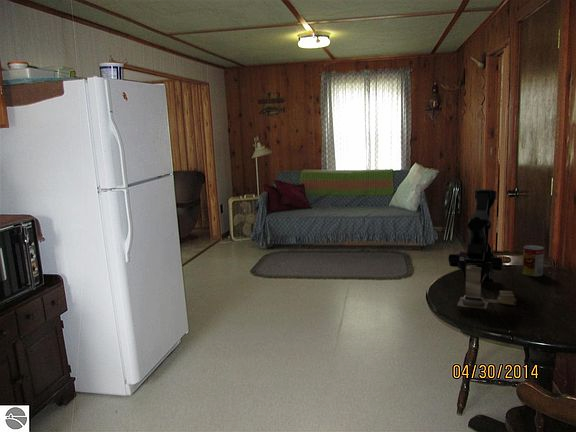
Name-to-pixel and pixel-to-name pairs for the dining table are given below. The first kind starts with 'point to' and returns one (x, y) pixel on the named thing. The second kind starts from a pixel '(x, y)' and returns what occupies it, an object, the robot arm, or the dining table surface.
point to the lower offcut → (505, 301)
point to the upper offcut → (506, 295)
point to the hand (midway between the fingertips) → (473, 282)
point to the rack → (477, 302)
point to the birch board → (473, 282)
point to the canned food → (533, 260)
